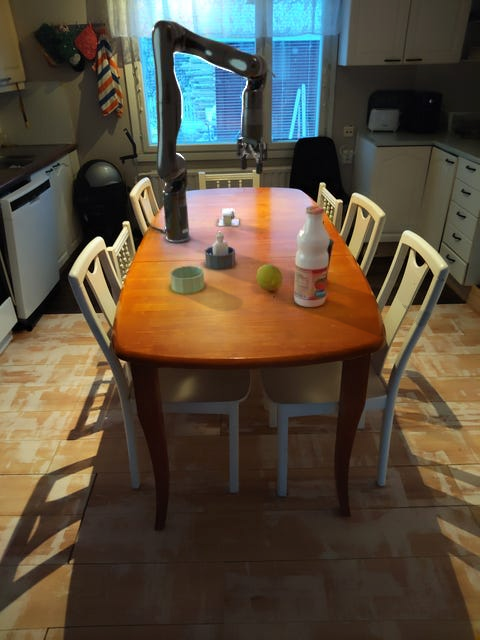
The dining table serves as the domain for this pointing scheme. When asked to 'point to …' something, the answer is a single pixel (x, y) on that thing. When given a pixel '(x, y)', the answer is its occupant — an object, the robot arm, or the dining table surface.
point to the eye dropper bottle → (220, 246)
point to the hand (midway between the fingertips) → (251, 171)
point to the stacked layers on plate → (228, 218)
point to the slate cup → (220, 259)
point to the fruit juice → (312, 260)
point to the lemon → (269, 277)
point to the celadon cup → (187, 279)
